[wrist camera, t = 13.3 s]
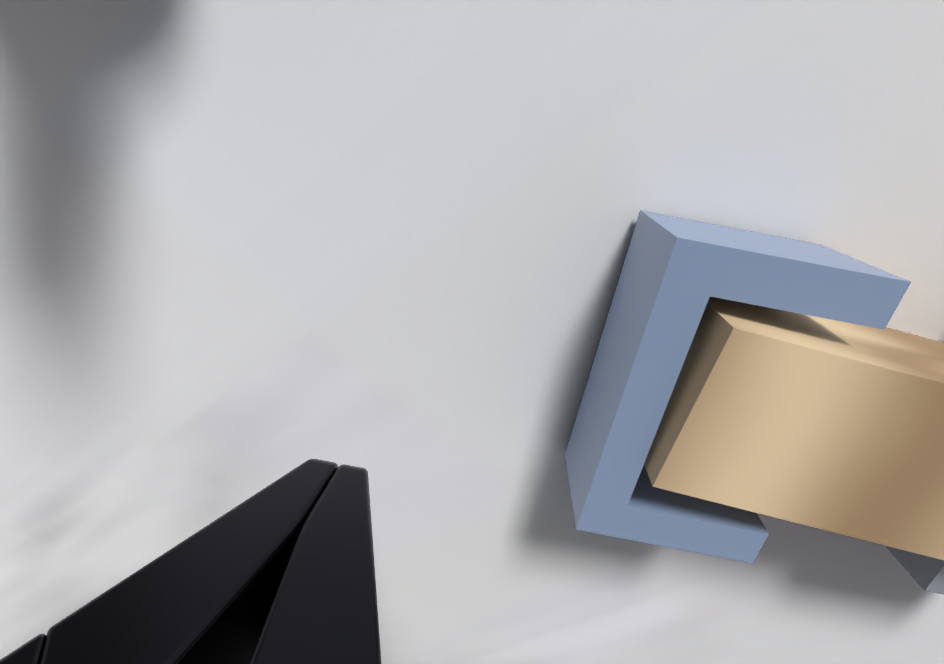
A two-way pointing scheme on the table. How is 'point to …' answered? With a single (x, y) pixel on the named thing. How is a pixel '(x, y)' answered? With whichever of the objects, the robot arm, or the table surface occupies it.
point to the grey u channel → (922, 569)
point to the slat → (810, 425)
